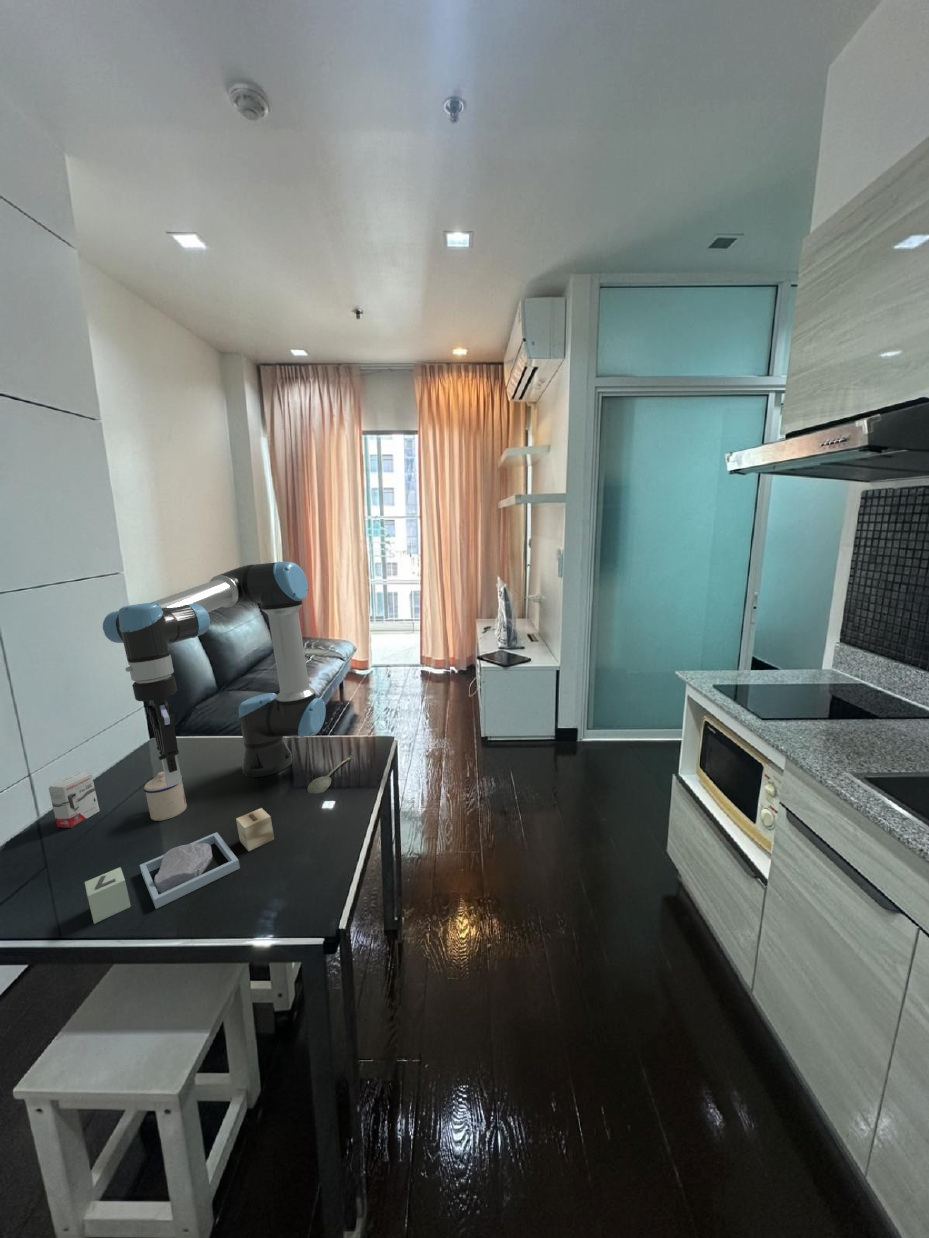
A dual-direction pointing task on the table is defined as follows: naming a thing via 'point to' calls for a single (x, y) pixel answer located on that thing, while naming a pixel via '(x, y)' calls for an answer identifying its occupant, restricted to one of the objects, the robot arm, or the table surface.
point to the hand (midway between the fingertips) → (174, 783)
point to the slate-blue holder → (193, 883)
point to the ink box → (74, 799)
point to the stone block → (182, 865)
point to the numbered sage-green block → (107, 894)
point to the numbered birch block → (255, 829)
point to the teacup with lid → (164, 798)
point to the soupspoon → (323, 781)
